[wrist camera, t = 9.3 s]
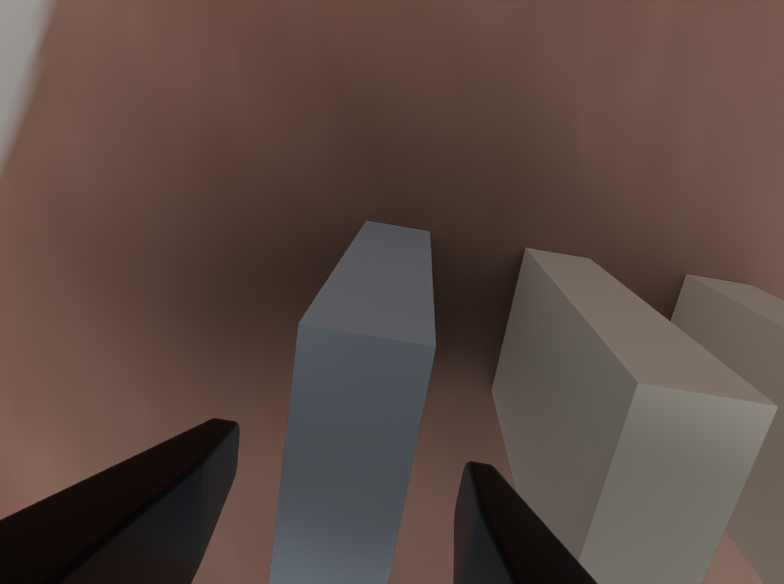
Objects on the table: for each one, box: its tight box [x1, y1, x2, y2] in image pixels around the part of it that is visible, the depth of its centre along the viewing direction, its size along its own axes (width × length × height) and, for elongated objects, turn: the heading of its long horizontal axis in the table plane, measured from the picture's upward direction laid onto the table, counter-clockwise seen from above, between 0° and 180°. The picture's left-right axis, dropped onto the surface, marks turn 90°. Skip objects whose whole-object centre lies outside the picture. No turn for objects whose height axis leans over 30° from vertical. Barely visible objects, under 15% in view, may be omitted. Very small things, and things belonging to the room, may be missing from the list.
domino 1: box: [269, 220, 436, 584], centre depth 12 cm, size 5×2×9 cm, turn 171°
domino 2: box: [491, 248, 778, 584], centre depth 12 cm, size 5×2×9 cm, turn 171°
